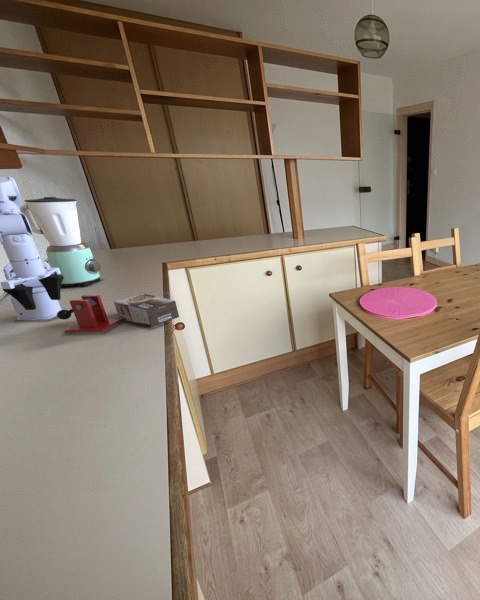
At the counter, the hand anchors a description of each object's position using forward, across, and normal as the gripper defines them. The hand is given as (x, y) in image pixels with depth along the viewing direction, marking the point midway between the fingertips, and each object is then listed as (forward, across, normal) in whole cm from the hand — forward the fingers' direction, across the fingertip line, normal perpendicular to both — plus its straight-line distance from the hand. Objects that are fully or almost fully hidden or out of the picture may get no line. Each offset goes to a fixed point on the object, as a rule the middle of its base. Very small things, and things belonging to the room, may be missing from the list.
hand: (44, 304), depth 91 cm
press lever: (+3, 0, -9) cm, 9 cm away
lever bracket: (+8, 0, -12) cm, 14 cm away
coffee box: (+5, +10, -16) cm, 20 cm away
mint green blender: (+8, +44, +27) cm, 52 cm away
